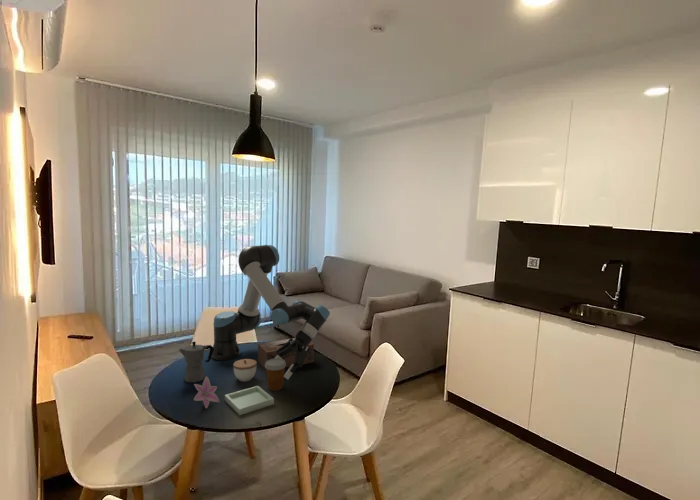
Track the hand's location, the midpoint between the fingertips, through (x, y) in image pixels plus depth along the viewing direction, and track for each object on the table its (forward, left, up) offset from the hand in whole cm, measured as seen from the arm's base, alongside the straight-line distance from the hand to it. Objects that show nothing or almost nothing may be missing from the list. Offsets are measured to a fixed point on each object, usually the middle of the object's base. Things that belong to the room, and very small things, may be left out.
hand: (278, 373), depth 178 cm
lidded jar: (-18, -8, -7) cm, 21 cm away
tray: (+5, -16, -7) cm, 18 cm away
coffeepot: (-32, -26, -7) cm, 42 cm away
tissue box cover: (-25, +18, -7) cm, 32 cm away
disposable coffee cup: (-1, -1, -7) cm, 7 cm away
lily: (-5, -31, -7) cm, 32 cm away
